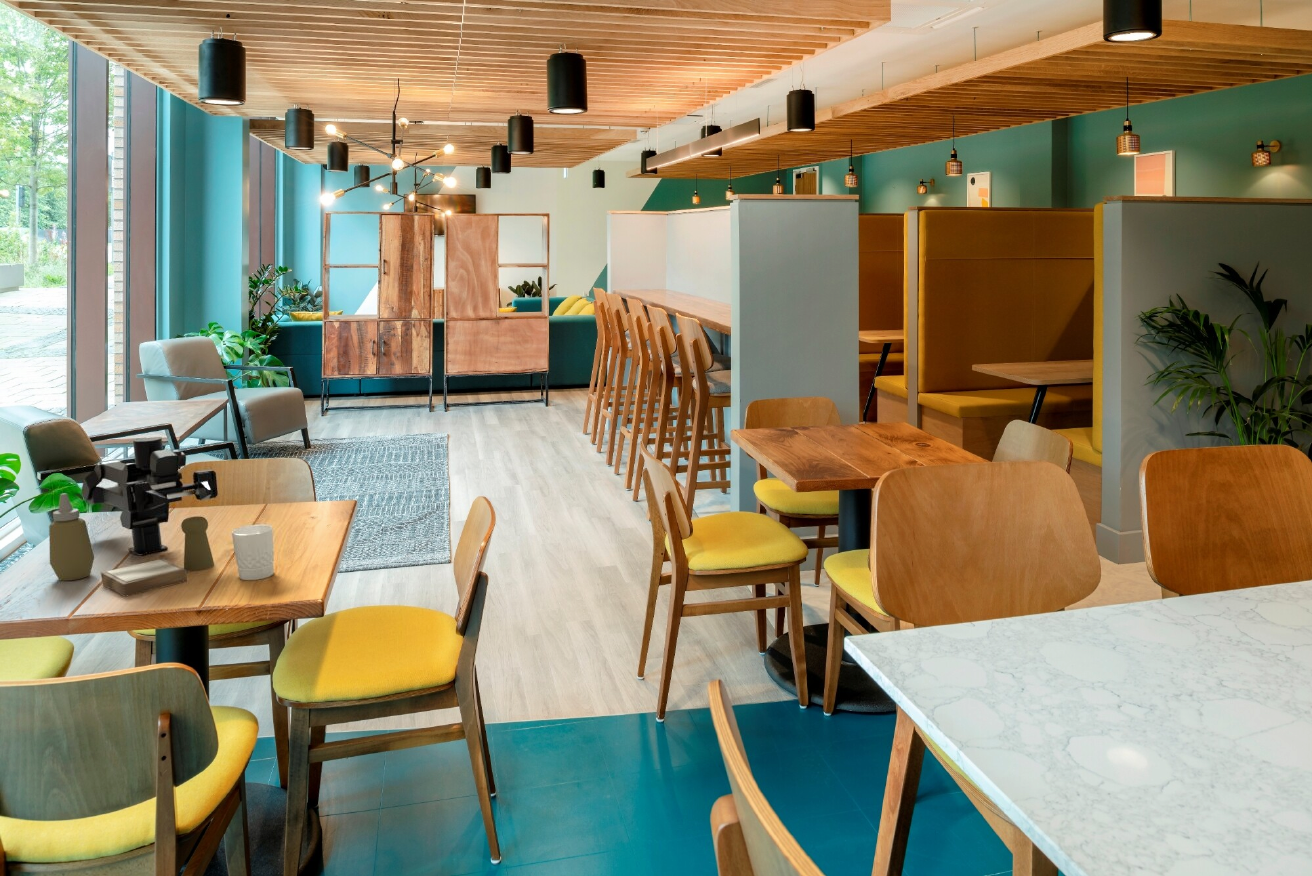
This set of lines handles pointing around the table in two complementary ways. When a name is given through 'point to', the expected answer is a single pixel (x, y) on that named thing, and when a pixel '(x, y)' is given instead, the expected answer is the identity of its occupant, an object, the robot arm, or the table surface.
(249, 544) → the white cup
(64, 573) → the squeeze bottle
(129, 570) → the walnut picture frame
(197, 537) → the cork
